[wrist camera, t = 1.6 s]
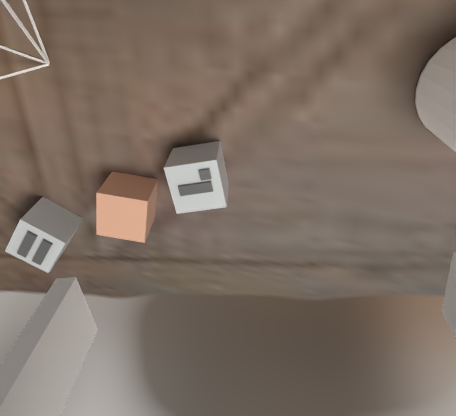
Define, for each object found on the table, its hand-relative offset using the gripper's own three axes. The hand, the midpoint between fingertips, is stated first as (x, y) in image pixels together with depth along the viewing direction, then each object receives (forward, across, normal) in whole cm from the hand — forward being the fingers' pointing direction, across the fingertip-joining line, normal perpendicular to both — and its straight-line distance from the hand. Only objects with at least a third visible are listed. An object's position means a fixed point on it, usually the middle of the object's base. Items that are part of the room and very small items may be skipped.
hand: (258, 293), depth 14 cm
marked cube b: (+27, -6, -7) cm, 29 cm away
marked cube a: (+27, -24, -12) cm, 38 cm away
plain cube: (+27, -14, -9) cm, 32 cm away
